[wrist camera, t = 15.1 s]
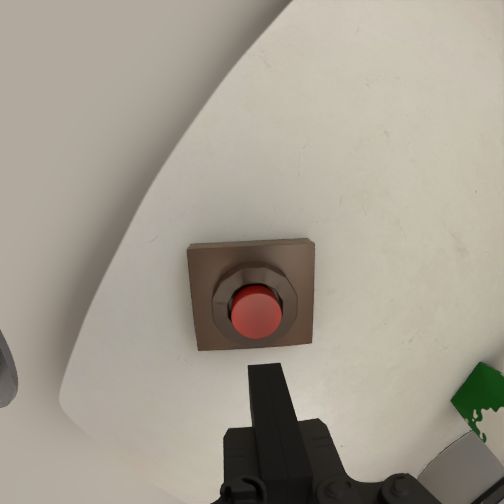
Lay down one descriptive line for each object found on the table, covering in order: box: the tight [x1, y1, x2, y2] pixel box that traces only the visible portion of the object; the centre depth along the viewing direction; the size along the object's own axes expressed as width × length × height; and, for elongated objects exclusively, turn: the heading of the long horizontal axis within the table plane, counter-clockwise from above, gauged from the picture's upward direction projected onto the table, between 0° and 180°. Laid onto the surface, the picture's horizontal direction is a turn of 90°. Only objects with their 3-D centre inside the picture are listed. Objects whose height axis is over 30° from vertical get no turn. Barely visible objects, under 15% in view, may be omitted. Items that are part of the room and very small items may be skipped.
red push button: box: [231, 286, 282, 339], centre depth 22 cm, size 4×4×2 cm
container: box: [418, 431, 504, 504], centre depth 30 cm, size 19×19×15 cm
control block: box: [187, 238, 315, 351], centre depth 24 cm, size 10×9×4 cm
